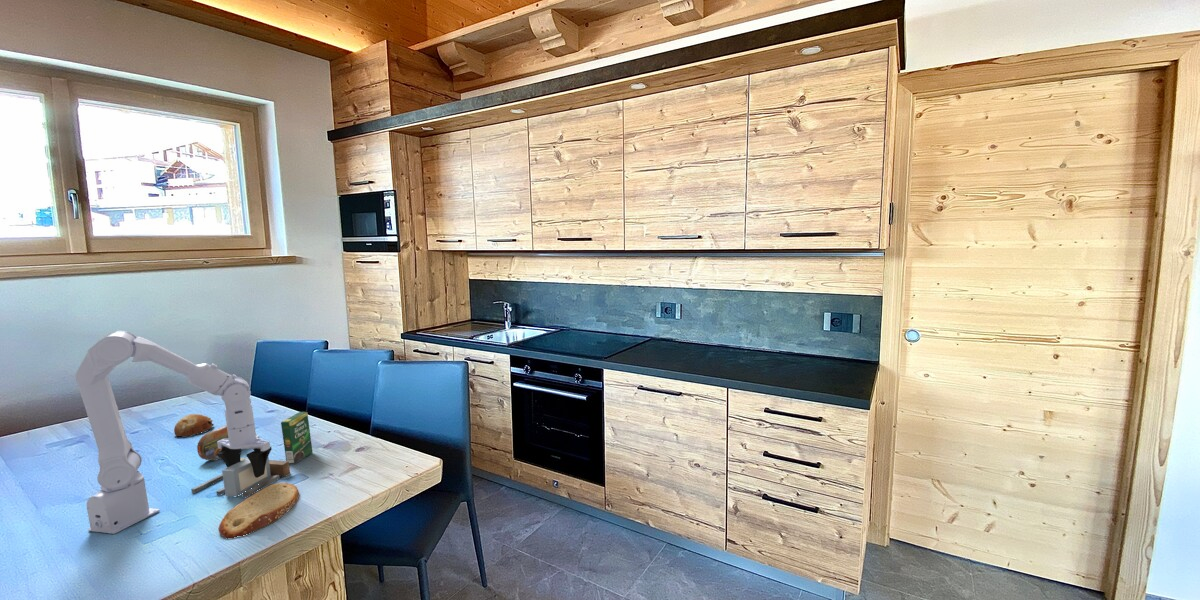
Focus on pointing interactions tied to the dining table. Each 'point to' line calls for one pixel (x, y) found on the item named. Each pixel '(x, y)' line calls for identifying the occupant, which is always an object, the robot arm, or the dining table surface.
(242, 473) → the grey rectangular block
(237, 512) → the bread slice
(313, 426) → the dining table surface
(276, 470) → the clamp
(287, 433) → the coffee box
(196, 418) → the bread roll
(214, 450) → the tin
